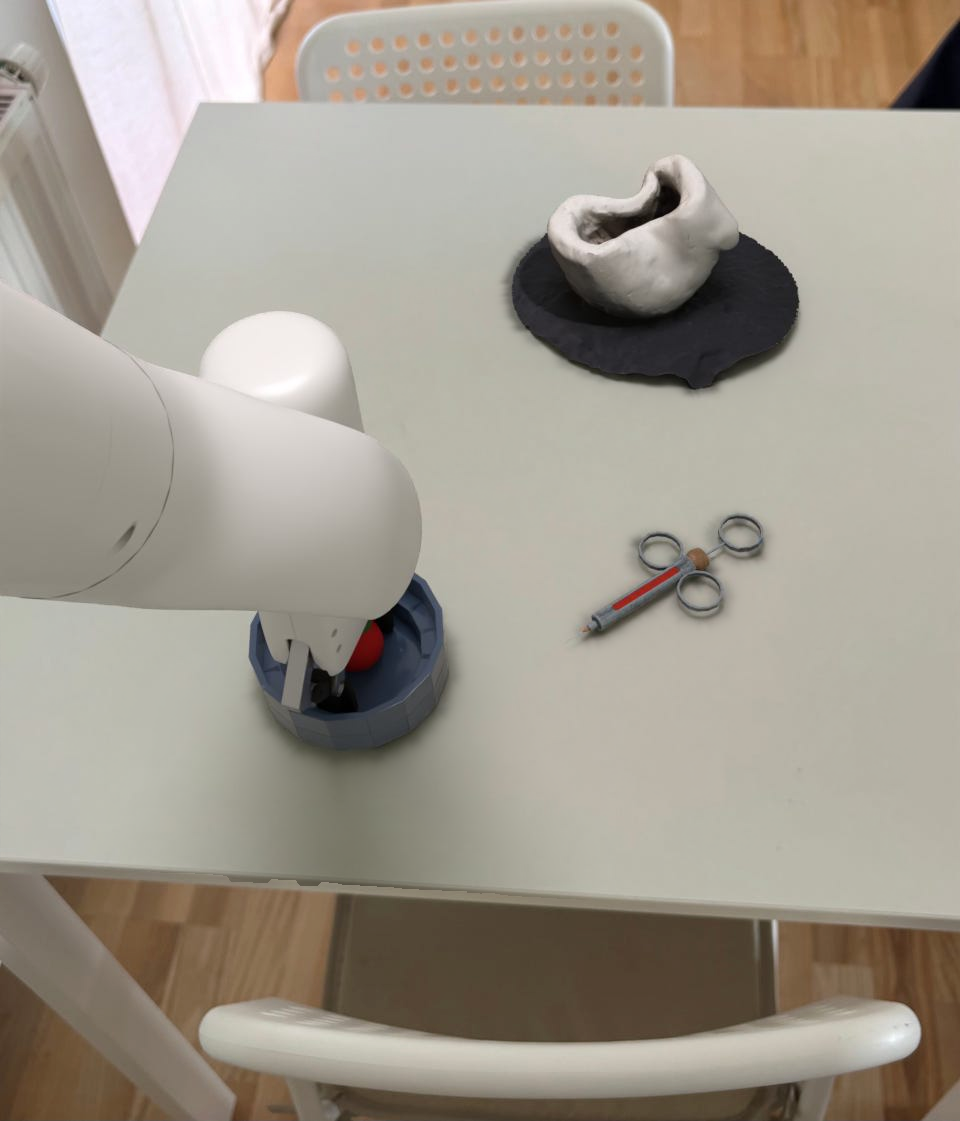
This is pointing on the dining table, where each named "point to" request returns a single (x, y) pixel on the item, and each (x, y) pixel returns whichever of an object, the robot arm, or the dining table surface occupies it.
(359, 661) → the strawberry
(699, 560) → the syringe
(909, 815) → the dining table surface
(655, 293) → the sculpture
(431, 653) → the bowl
